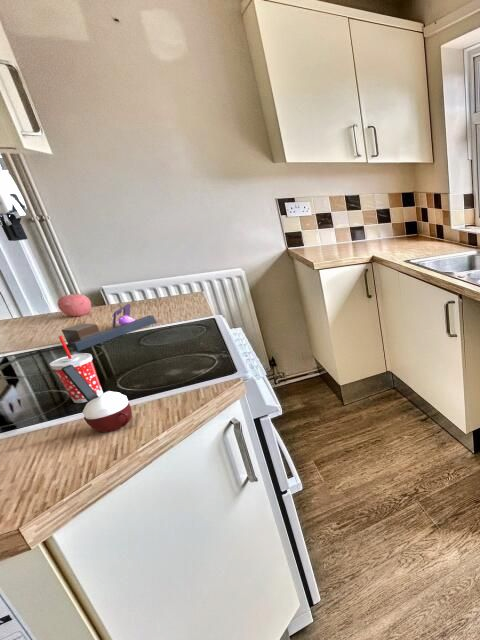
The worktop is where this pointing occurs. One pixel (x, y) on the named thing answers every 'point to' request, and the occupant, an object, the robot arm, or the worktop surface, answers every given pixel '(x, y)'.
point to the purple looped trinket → (124, 318)
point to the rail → (112, 333)
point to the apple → (74, 304)
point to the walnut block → (79, 332)
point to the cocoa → (101, 404)
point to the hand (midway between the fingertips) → (18, 239)
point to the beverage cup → (82, 366)
